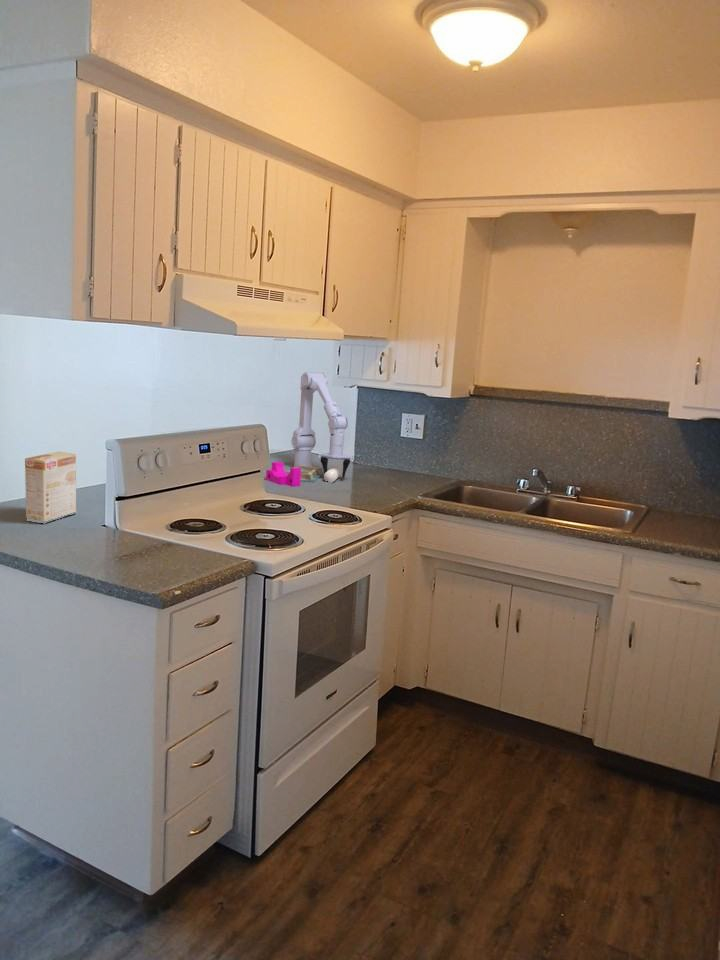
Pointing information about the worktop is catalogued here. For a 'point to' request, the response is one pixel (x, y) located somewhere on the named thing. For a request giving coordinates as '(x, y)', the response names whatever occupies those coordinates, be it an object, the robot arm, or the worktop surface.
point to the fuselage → (332, 474)
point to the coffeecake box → (50, 485)
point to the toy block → (283, 475)
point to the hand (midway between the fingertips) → (334, 476)
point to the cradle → (308, 473)
